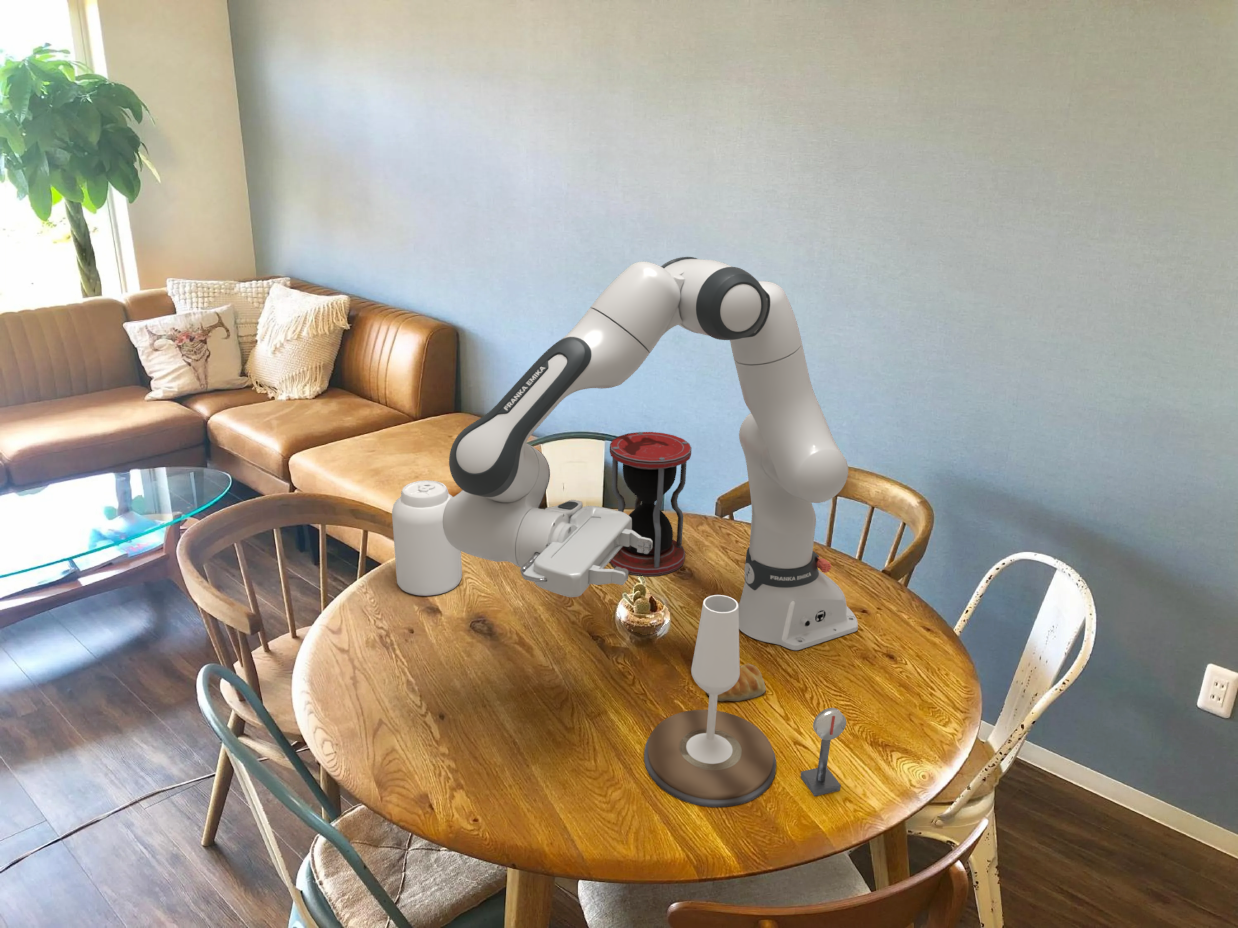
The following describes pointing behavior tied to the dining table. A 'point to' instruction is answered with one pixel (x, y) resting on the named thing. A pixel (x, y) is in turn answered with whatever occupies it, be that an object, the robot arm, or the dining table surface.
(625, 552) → the hourglass
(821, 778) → the dial gauge
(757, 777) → the turntable
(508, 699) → the dining table surface
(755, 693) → the pastry
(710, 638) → the champagne flute
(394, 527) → the can
